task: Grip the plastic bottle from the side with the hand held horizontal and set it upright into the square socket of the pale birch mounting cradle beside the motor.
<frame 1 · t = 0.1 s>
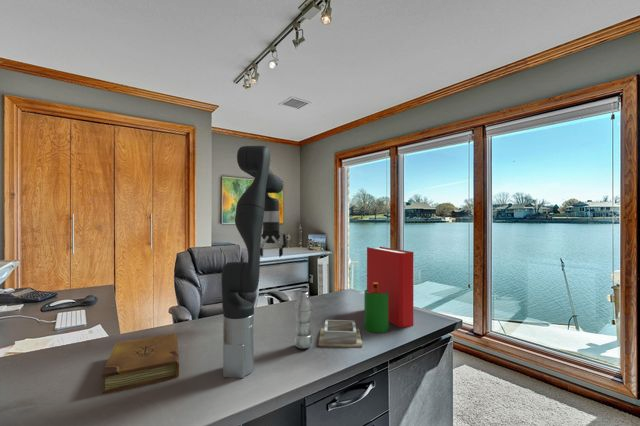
hand: (271, 256, 139), 29 cm above the table, tool pointing down, fingers open, 8 cm apart
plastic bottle: (303, 347, 111), on the table
book: (389, 317, 144), on the table
motor: (376, 329, 129), on the table
diary: (145, 369, 96), on the table
mounting cradle: (340, 338, 119), on the table
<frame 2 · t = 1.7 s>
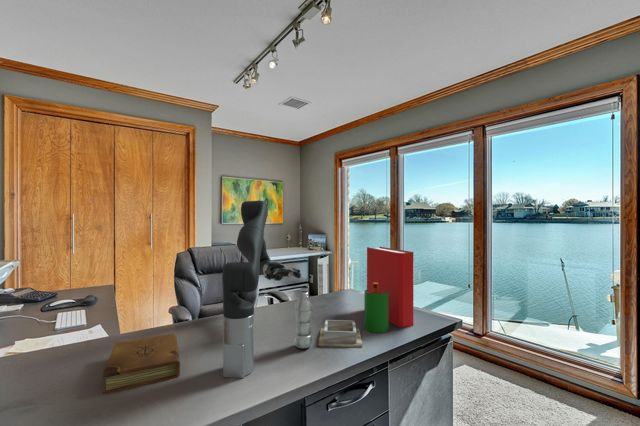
hand: (290, 276, 120), 24 cm above the table, tool horizontal, fingers open, 8 cm apart
nothing on the table moved.
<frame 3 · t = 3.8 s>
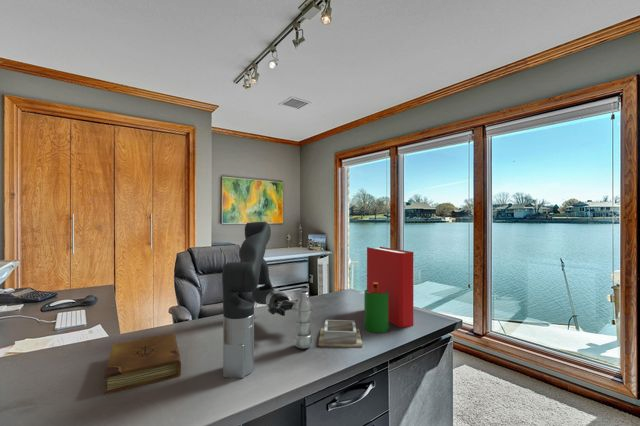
hand: (294, 311, 117), 11 cm above the table, tool horizontal, fingers open, 8 cm apart
nothing on the table moved.
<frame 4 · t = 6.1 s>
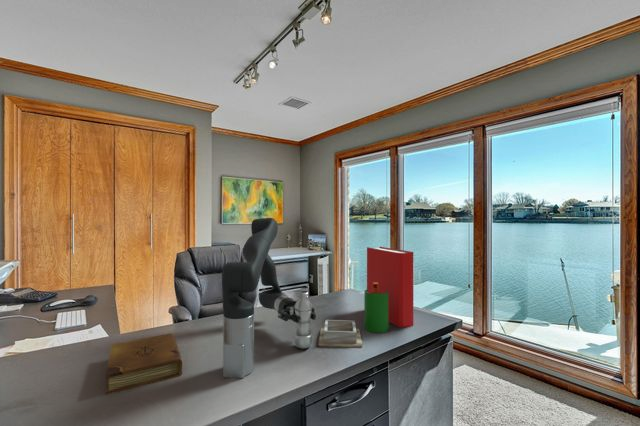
hand: (306, 318, 109), 11 cm above the table, tool horizontal, fingers closed on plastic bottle, 6 cm apart
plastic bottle: (303, 347, 111), on the table, touching gripper
everything else where it was.
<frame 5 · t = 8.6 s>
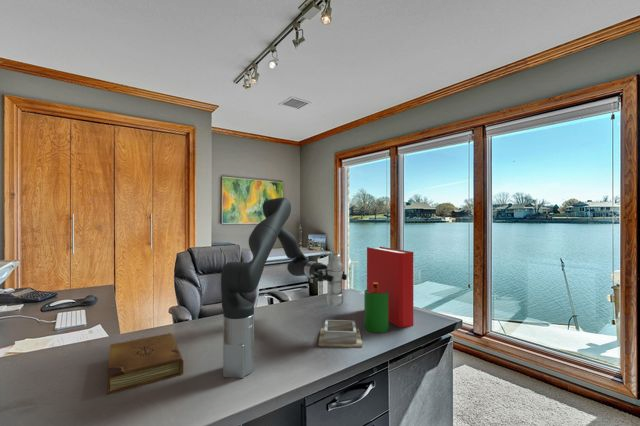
hand: (338, 278, 117), 24 cm above the table, tool horizontal, fingers closed on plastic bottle, 6 cm apart
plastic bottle: (334, 305, 119), point 13 cm above the table, touching gripper
everything else where it was.
when the fingers open (13 cm above the table, at t = 11.5 s): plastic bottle stays where it is, resting on mounting cradle.
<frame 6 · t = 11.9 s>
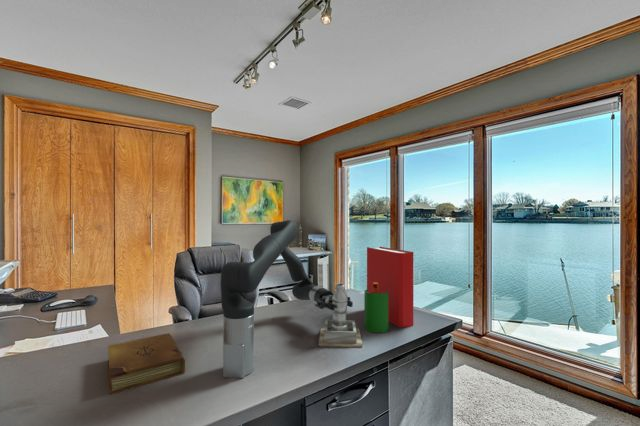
hand: (343, 306, 117), 13 cm above the table, tool horizontal, fingers open, 8 cm apart
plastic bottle: (339, 336, 119), point 1 cm above the table, touching mounting cradle
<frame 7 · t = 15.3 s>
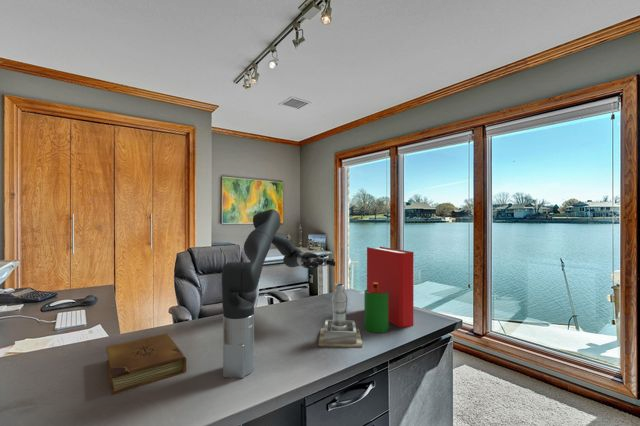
hand: (326, 264, 128), 27 cm above the table, tool horizontal, fingers open, 8 cm apart
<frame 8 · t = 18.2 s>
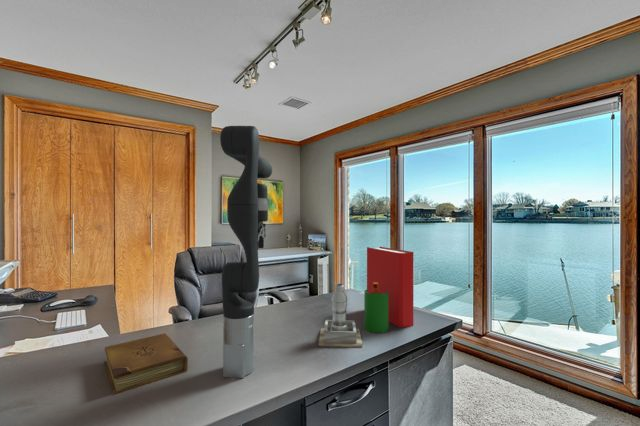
hand: (258, 249, 124), 34 cm above the table, tool pointing down, fingers open, 8 cm apart
at the end: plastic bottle 0.3 cm off-centre on the mounting cradle, point 0.6 cm above the mounting cradle's base; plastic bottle tilted 0°; the gripper is holding nothing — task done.
